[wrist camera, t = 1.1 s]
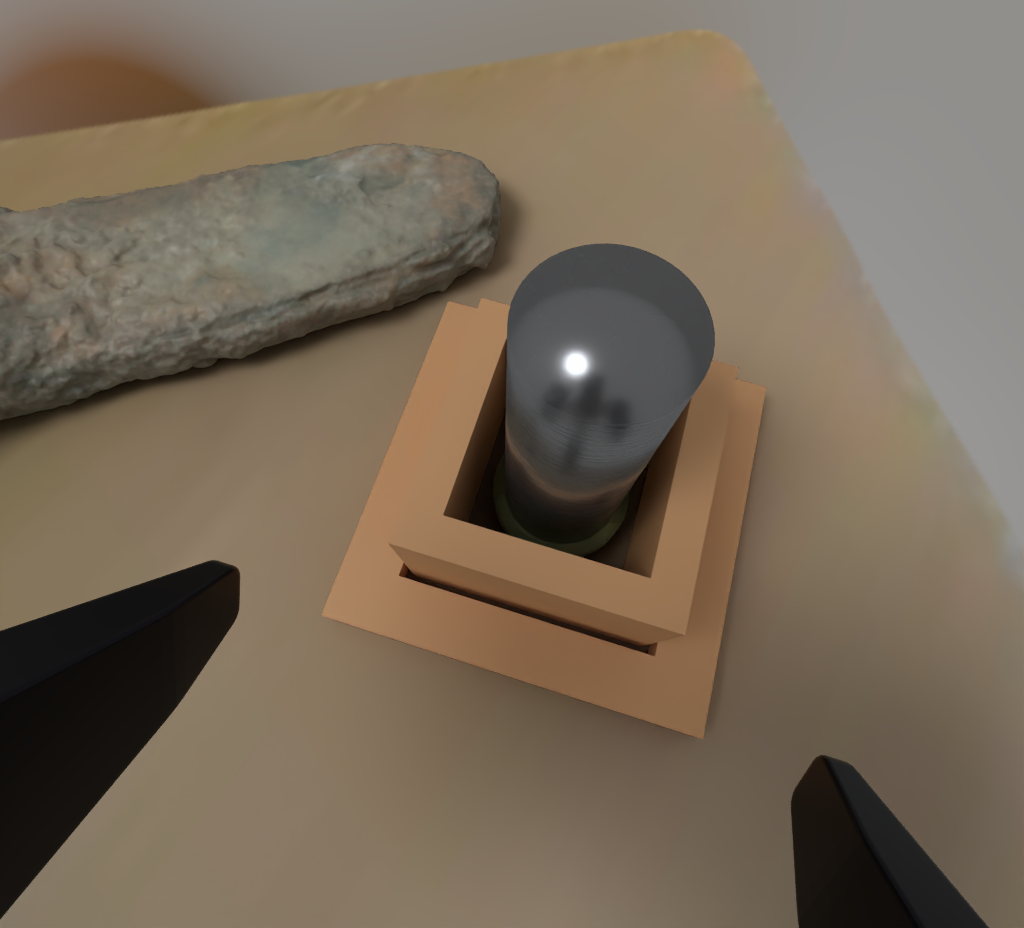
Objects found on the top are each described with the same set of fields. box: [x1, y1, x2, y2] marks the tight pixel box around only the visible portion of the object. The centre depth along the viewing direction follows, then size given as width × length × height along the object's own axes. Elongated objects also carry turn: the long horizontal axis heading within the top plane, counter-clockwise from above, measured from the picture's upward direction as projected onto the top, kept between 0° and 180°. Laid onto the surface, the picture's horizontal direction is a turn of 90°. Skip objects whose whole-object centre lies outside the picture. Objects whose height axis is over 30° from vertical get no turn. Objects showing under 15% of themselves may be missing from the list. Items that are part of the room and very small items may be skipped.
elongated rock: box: [0, 143, 501, 420], centre depth 24 cm, size 35×5×10 cm
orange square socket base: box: [322, 298, 766, 739], centre depth 20 cm, size 13×13×6 cm
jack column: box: [493, 244, 715, 557], centre depth 17 cm, size 5×5×12 cm
